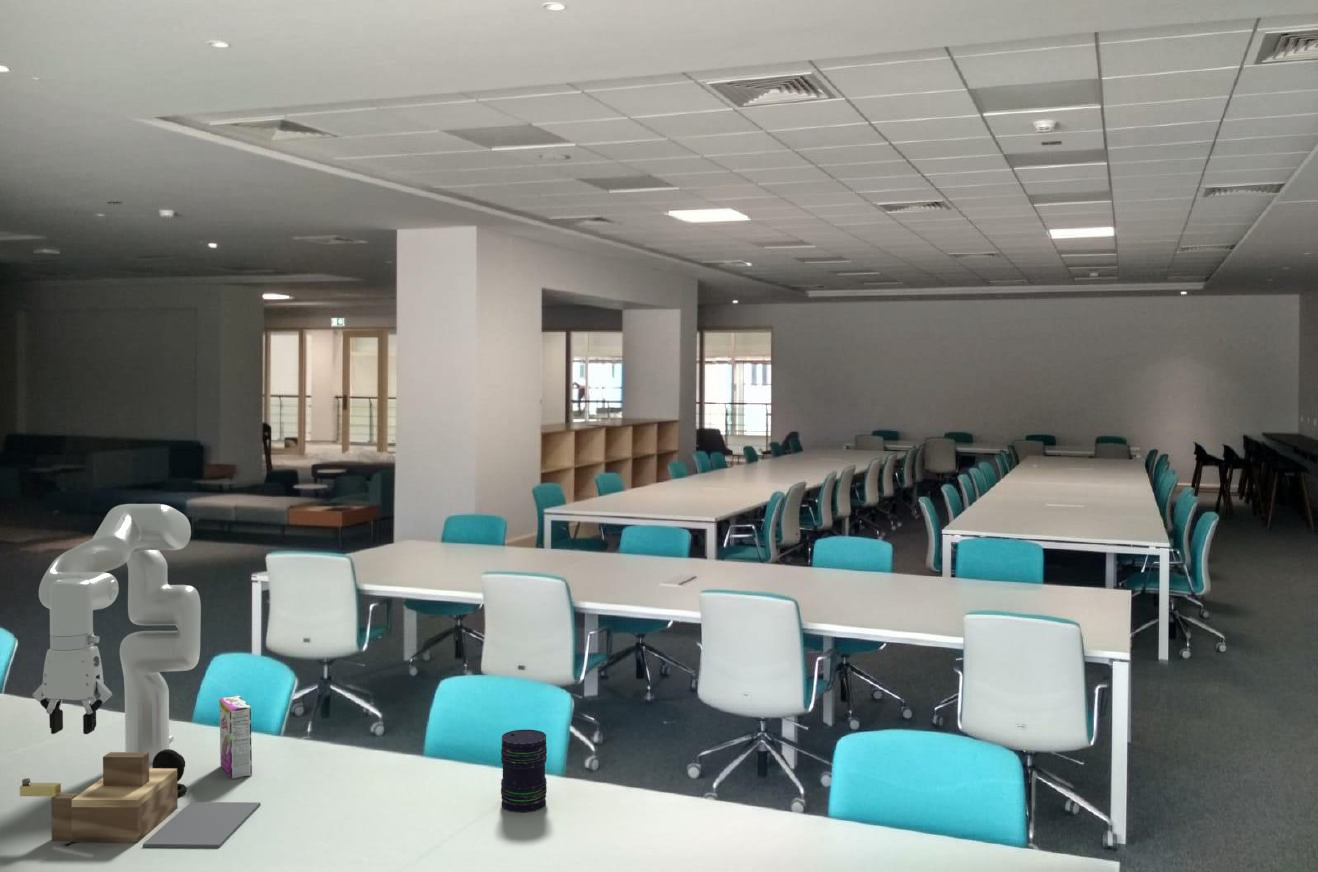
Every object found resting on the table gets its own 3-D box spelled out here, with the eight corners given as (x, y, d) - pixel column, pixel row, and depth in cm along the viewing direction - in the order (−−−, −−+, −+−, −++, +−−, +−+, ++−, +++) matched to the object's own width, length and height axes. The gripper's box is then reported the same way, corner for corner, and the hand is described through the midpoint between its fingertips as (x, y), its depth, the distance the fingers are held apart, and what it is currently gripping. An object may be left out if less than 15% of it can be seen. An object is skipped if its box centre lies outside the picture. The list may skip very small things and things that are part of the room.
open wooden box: (96, 807, 234) (96, 768, 234) (177, 808, 234) (177, 768, 234) (49, 842, 216) (49, 799, 216) (137, 842, 216) (137, 800, 216)
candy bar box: (218, 766, 261) (218, 698, 260) (240, 762, 263) (240, 694, 263) (230, 780, 251) (229, 709, 251) (252, 776, 254) (252, 706, 254)
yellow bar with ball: (25, 792, 219) (25, 777, 219) (60, 793, 219) (60, 778, 219) (19, 796, 217) (19, 781, 217) (55, 796, 217) (55, 781, 217)
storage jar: (555, 800, 241) (555, 733, 240) (531, 816, 232) (531, 746, 231) (516, 793, 245) (516, 727, 244) (491, 808, 236) (491, 739, 235)
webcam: (195, 790, 245) (194, 746, 244) (170, 802, 238) (169, 757, 237) (167, 786, 247) (166, 742, 247) (141, 798, 240) (141, 753, 240)
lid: (116, 775, 234) (115, 740, 234) (177, 775, 234) (176, 740, 234) (71, 807, 216) (71, 769, 216) (137, 807, 216) (137, 770, 216)
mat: (190, 804, 236) (190, 802, 236) (260, 805, 236) (260, 802, 236) (142, 847, 214) (142, 844, 214) (219, 847, 214) (219, 844, 214)
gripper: (124, 638, 221) (125, 726, 221) (39, 637, 221) (40, 726, 221) (105, 646, 213) (106, 738, 214) (17, 645, 213) (18, 737, 214)
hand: (73, 731), depth 218 cm, fingers open, 5 cm apart
